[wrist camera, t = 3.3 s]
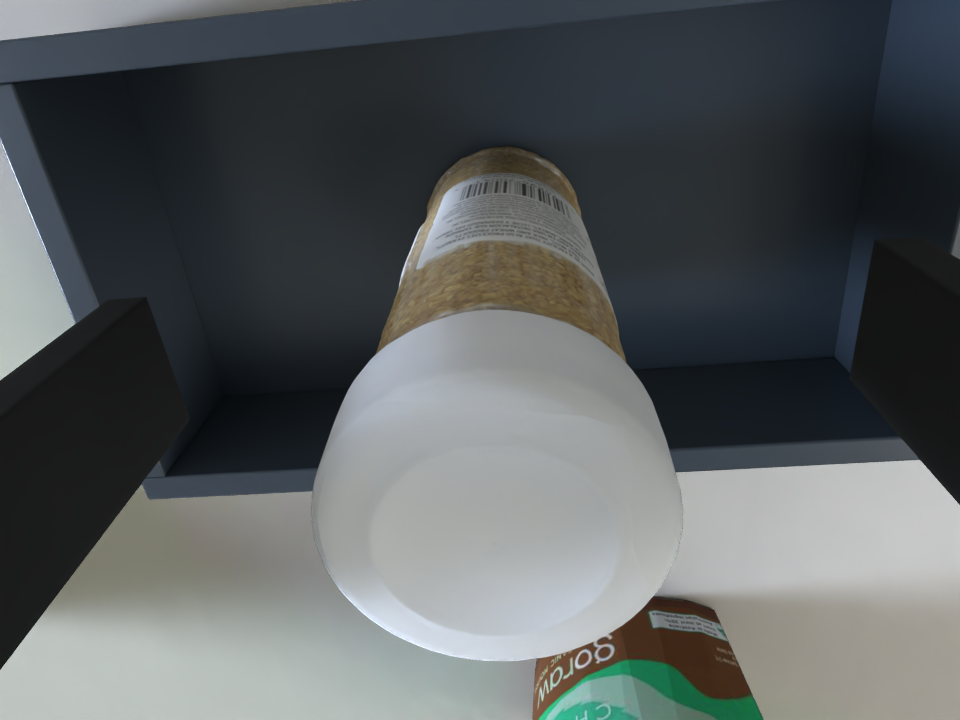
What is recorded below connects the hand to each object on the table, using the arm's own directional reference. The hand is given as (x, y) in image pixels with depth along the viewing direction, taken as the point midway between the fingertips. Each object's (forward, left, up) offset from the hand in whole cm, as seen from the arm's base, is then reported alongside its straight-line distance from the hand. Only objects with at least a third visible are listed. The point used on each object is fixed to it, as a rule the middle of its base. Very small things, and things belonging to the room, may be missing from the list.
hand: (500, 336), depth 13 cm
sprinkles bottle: (0, 0, -8) cm, 8 cm away
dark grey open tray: (0, 0, -9) cm, 9 cm away
